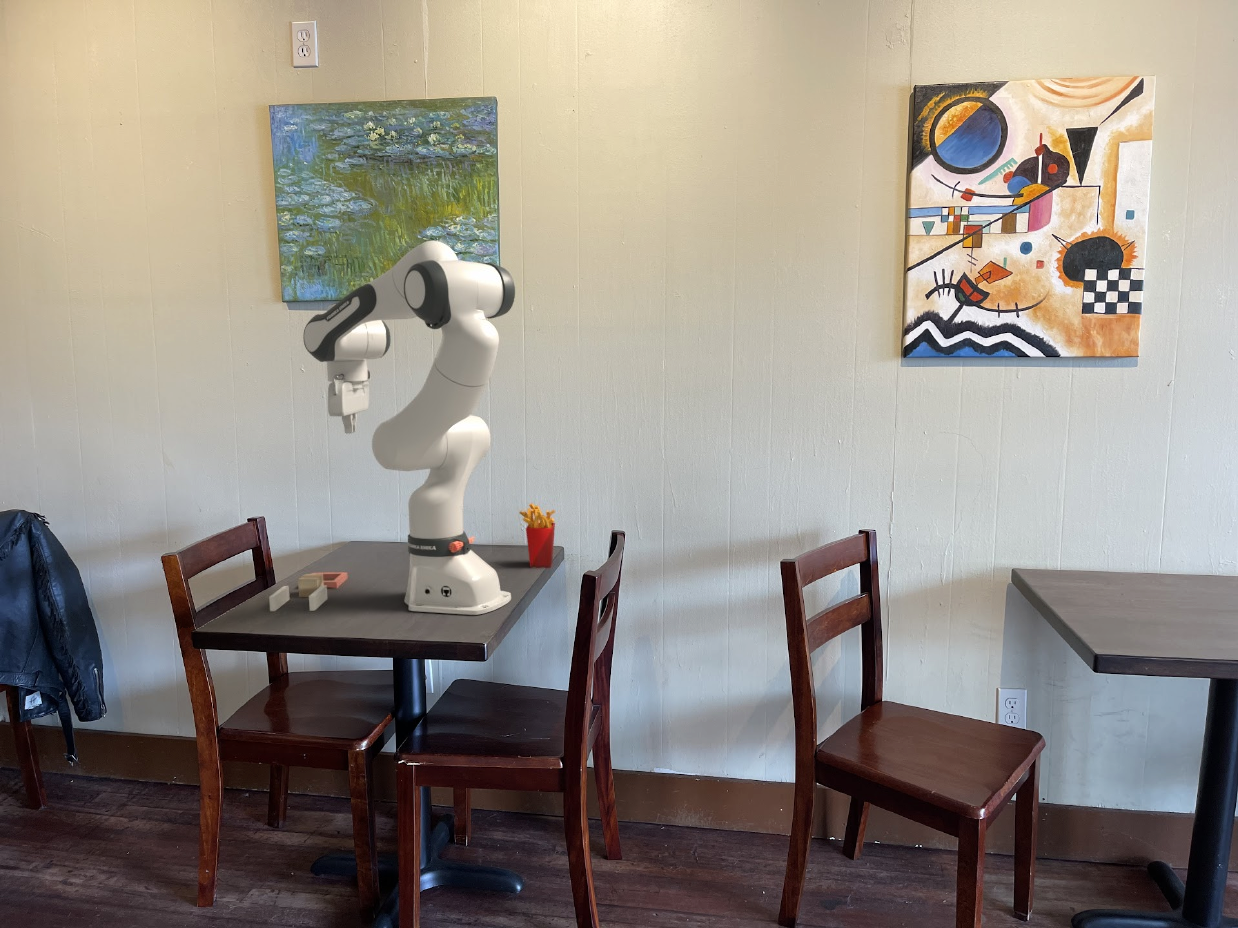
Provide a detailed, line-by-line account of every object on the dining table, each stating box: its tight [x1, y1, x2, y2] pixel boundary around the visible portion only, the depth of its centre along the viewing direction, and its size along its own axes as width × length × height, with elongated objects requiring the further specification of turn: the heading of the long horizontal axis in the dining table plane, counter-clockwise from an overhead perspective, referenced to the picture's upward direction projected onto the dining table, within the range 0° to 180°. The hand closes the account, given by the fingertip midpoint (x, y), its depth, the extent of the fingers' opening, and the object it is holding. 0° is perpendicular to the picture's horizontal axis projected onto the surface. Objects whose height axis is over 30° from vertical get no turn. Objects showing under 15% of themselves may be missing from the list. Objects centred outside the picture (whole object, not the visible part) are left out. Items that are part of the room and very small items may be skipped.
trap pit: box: [311, 571, 348, 590], centre depth 193 cm, size 8×8×2 cm
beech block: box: [297, 573, 324, 598], centre depth 185 cm, size 4×4×4 cm
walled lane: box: [268, 585, 328, 612], centre depth 177 cm, size 8×9×3 cm
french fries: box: [519, 503, 556, 569], centre depth 206 cm, size 9×8×15 cm
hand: (350, 433), depth 200 cm, fingers closed
